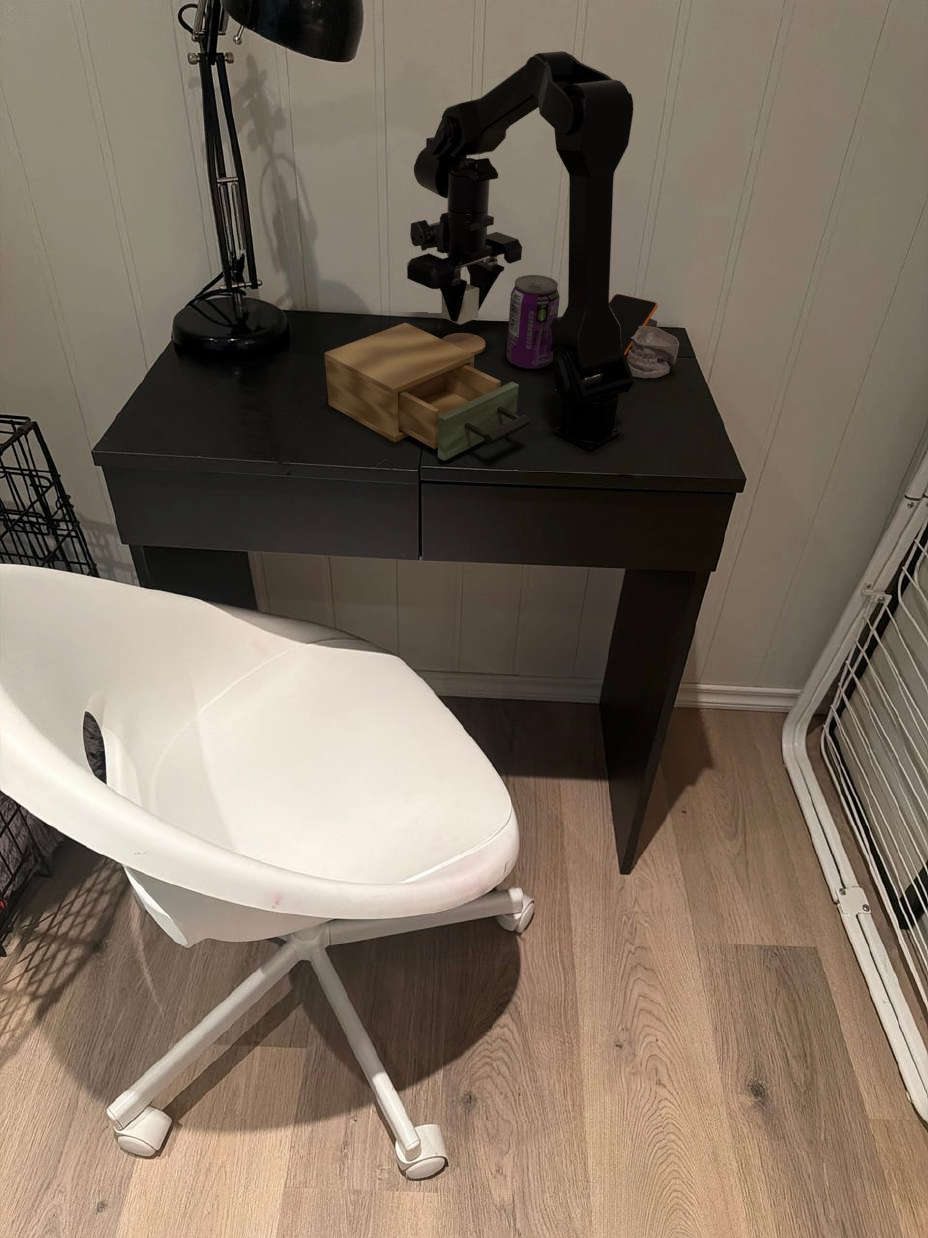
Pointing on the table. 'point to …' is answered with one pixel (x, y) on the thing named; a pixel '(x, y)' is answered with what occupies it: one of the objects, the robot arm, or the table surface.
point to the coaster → (466, 342)
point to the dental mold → (651, 352)
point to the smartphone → (631, 316)
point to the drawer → (459, 411)
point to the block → (465, 306)
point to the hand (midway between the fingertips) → (464, 316)
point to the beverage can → (532, 321)
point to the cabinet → (386, 373)
